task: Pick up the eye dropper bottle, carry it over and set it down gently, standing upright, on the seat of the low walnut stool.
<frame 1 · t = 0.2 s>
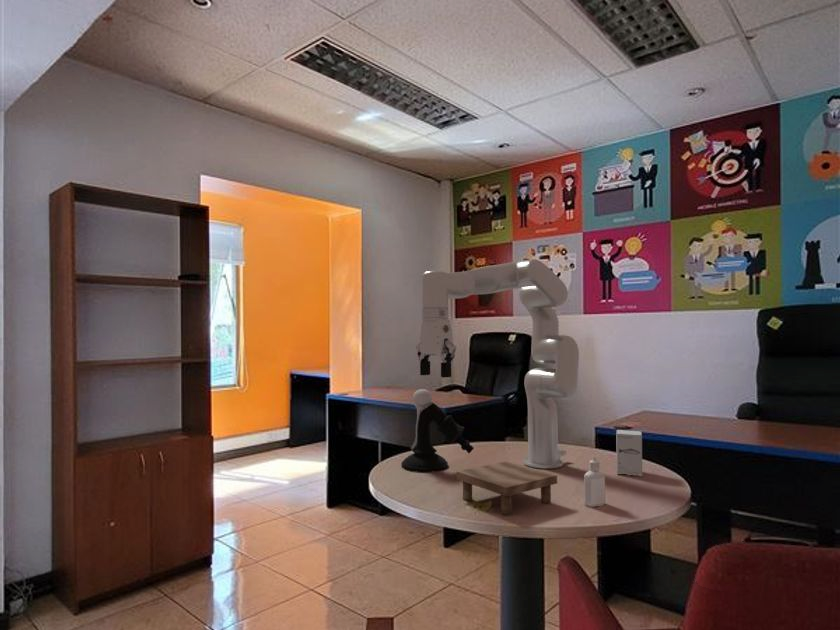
hand: (435, 376, 145), 31 cm above the table, tool pointing down, fingers open, 9 cm apart
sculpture: (437, 467, 167), on the table
walnut stool: (506, 501, 132), on the table
supplement box: (629, 474, 159), on the table
eye dropper bottle: (595, 505, 129), on the table
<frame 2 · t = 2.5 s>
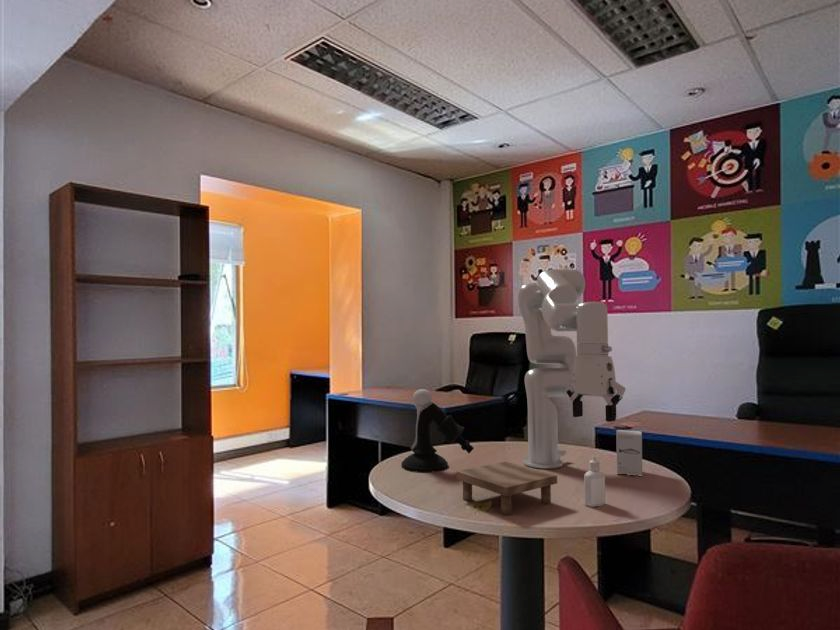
hand: (593, 418, 130), 21 cm above the table, tool pointing down, fingers open, 9 cm apart
nothing on the table moved.
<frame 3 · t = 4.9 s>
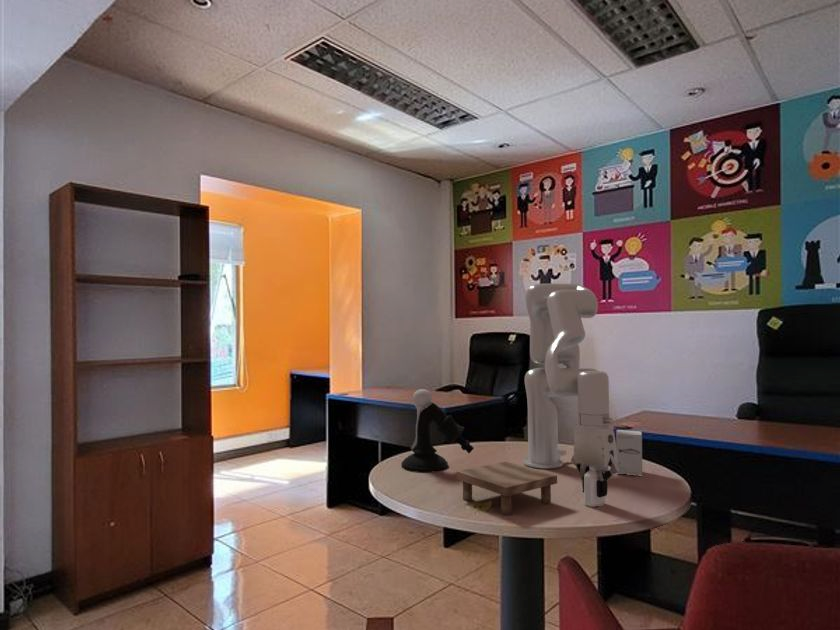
hand: (594, 493, 129), 3 cm above the table, tool pointing down, fingers closed on eye dropper bottle, 3 cm apart
eye dropper bottle: (594, 505, 129), on the table, touching gripper
everything else where it was.
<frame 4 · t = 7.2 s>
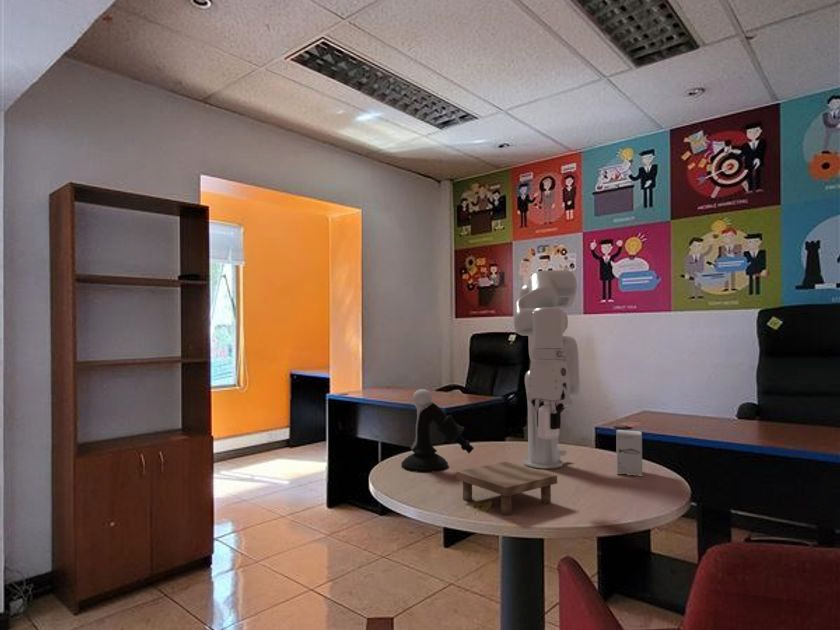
hand: (548, 426, 132), 19 cm above the table, tool pointing down, fingers closed on eye dropper bottle, 3 cm apart
eye dropper bottle: (548, 438, 131), point 16 cm above the table, touching gripper
everything else where it was.
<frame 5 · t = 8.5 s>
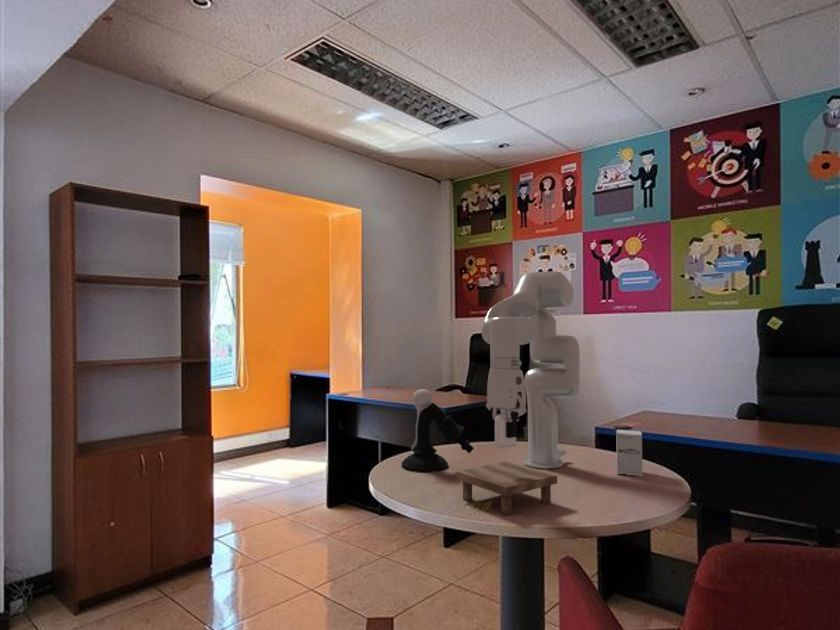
hand: (505, 435, 133), 17 cm above the table, tool pointing down, fingers closed on eye dropper bottle, 3 cm apart
eye dropper bottle: (505, 446, 133), point 14 cm above the table, touching gripper
everything else where it was.
when the fingers open (11 cm above the table, at t = 9.6 s): eye dropper bottle drops 1 cm, resting on walnut stool.
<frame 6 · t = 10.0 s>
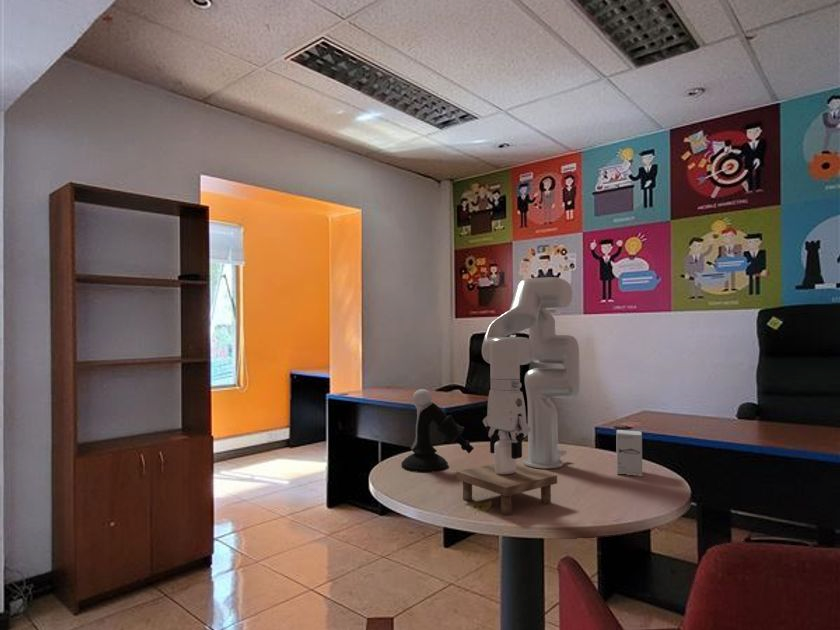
hand: (505, 454, 133), 12 cm above the table, tool pointing down, fingers open, 7 cm apart
eye dropper bottle: (506, 473, 133), point 7 cm above the table, touching walnut stool
everything else where it was.
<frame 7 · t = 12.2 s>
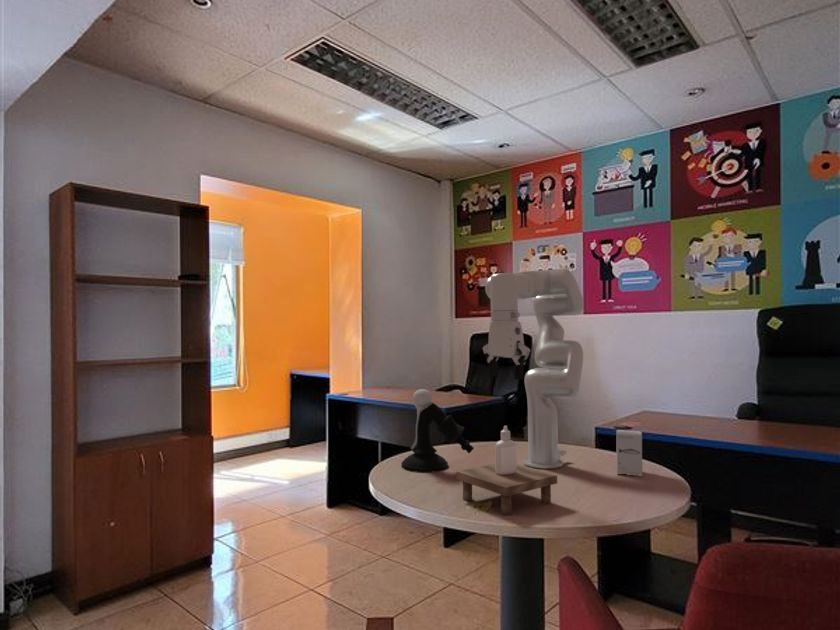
hand: (506, 377, 146), 30 cm above the table, tool pointing down, fingers open, 9 cm apart
nothing on the table moved.
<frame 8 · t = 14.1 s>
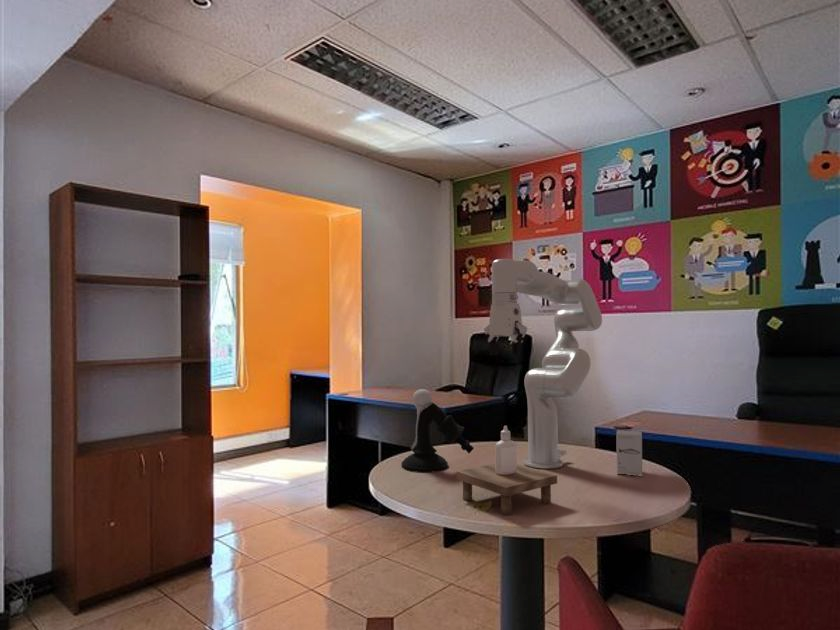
hand: (505, 355, 157), 36 cm above the table, tool pointing down, fingers open, 9 cm apart
nothing on the table moved.
at the end: eye dropper bottle inside the target area on the walnut stool (0.1 cm from its centre), point 6.8 cm above the walnut stool's base; eye dropper bottle tilted 0°; the gripper is holding nothing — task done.
